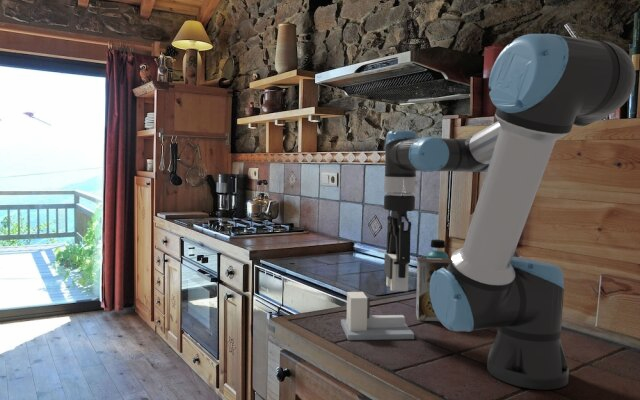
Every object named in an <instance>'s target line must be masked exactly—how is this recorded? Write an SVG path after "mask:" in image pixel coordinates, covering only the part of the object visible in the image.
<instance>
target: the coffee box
mask: <svg viewBox="0 0 640 400" xmlns="http://www.w3.org/2000/svg"><path fill="white" fill-rule="evenodd" d="M450 259H451V257H450V258H449V257H448V258H427V257H417V260H416V263H417V264H416V294H415V295H416V297H415V298H416V300H415V302H416V303H415V304H416V306H415V315H416V318H417V321H419V322H420V321H421V322H422V321H424V322H440V321H439V319H438V318H437V316H436V314H435V312H434V309H433V306H432V302H431V298H430V280H431V277H432V275H433V273H434V272H435V271H437V270H439V269H441V268H445V269H447V268H448V266H449V263H450Z"/></svg>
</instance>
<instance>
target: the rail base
mask: <svg viewBox="0 0 640 400" xmlns="http://www.w3.org/2000/svg"><path fill="white" fill-rule="evenodd" d="M370 300H371V299H370V295H368V294H367V292H366V291H347V292H346V318H345V319H340V325H341V327H342V329H343V332H344V334H345V337H346V338H347V341H368V340H370V341H373V340H375V341H376V340H377V341H378V340H414V339H415V333H414V331H412V329H411V328H410V327H409V326H408V325H407V323H406V316H405V315H403V314H388V315H387V314H383V315H382V314H381V315H380V314H378V315H376V314H375V315H373V314H372V315H371V314H370V306H371V305H370V303H371V301H370Z"/></svg>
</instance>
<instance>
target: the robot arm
mask: <svg viewBox="0 0 640 400" xmlns="http://www.w3.org/2000/svg"><path fill="white" fill-rule="evenodd" d="M636 74H637V73H636V67H635V65H634V63H633V60H632V58H631V56H630V55H629V54H628V53H627V51H625V50H624V49H623V48H621V47H620V46H618V45H617V44H615V43H612V42H609V41H604V40H597V39H596V40H593V39H586V38H580V37H572V36H565V35H559V34H556V33H554V34H553V33H528V34H524V35H521V36H518V37H517V38H514V40H513V41H512V42H511V43H509V44H507V45H506V46H505V47H504V48H503V49H502V50H501V52H500V53H499V55H498V56H497V57H496V59H495V61H494V63H493V66H492V68H491V71H490V74H489V77H488V78H489V80H488V89H491V90H490V91H489V98H490V100H491V102H492V103H491V104H493V105H494V106H495V107H496V108H495V114H494V117H495V119H496V120H497V121H496V122H494V123H492V124H490V125H489V126H487V127H486V128H484V129H482V130H480V131H478V132H476V133H475V134H473V135H471V136H469V137H468V138H444V137H443V138H441V137H435V136H422V137H418V135H417V134H418V133H417V132H416V131H414V130H398V129H397V130H390V131H388V132H387V133H386V139H385V144H384V145H385V146H384V148H385V149H384V150H385V153H384V155H385V156H384V185H383V192H385V193H386V194H385V195H384V197H383V209H384V210H386V211H390V212H391V214H390V215H387V217H386V219H387V231H386V232H387V235H386V236H387V237H386V251H385V253H386V254H396V259H397V261H396V262H394V264H395V286H394V290H395V291H394V292H407V291H406V278H407V264H408V263H409V264H410V263H411V229H412V225H413V224H412V221H410V220H409V218H408V212H412V211H414V210H415V209H416V196H415V195H413V194H415V193H416V185H418V181H417V180H416V176H417V172H422V173H423V172H424V173H426V172H428V173H433V172H463V173H464V172H465V173H466V172H467V173H481V172H483V173H484V172H486V174H485V177H484V179H483V183H482V186H481V189H480V193H479V196H478V199H477V203H476V206H475V208H474V212H473V215H472V217H471V218H472V219H471V221H470V225H469V228H468V230H467V234H466V237H465V240H464V243H463V246H462V247H460V248H458V249H456V250H455V251H453V252H452V254H451V256H450V263H449V266H448V268H447V269H445V268H441V269H439V270H437V271H435V272H434V273H433V275H432V277H431V280H430V298H431V302H432V306H433V309H434V312H435V314H436V316H437V318H438V319H439V321H438V322H440V323H441V324H442V326H443V327H445V328H446V329H448V331H451V332H469V333H470V332H472V331H481V330H487V329H497V333H496V335H495V337H494V339H493V343H492V345H491V347H490V350H489V353H488V355H487V361H486V362H487V363H486V366H487V367H486V368H487V371H488V372H489V374H490V375H491V376H492V377H494V378H495V379H498V380H499V381H501V382H503V383H506V384H509V385H513V386H515V387H519V388H525V389H531V390H533V389H534V390H539V391H541V390H545V391H547V390H549V391H550V390H557V389H561V388H564V387H565V386H567V385H568V383H569V376H570V375H569V373H570V370H569V366H568V362H567V359H566V355H565V352H564V349H563V345H562V341H561V338H562V337H561V334H562V321H563V305H564V294H565V292H564V291H565V285H564V272H563V270H562V268H561V267H560V266H558V265H557V264H554V263H550V262H546V261H541V260H537V259H536V260H535V259H531V258H525V257H519V256H514V255H515V252H516V249H517V246H518V243H519V242H520V238H521V236H522V233H523V231H524V228H525V225H526V222H527V219H528V217H529V214H530V211H531V209H532V206H533V204H534V201H535V198H536V195H537V193H538V189H539V186H540V185H541V182H542V179H543V176H544V173H545V171H546V168H547V166H548V162H549V160H550V157H551V156H552V152H553V149H554V146H555V144H556V142H557V141H558V140H560V139H562V138H563V137H566V136H567V135H568V136H569V135H570V133H571V130H572V129H573V126H574V127H586V126H588V125H590V124H592V123H595V122H598V121H600V120H603V119H604V118H606V117H608V116H610V115H611V114H613V113H615V112H616V111H618V110H619V109H620V108H621V107H622V106H624V105H625V103H626V102H627V101H628V100H629V99H630V96H631V95H632V93H633V91H634V88H635V84H636Z"/></svg>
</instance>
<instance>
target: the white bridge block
mask: <svg viewBox="0 0 640 400" xmlns="http://www.w3.org/2000/svg"><path fill="white" fill-rule="evenodd" d="M396 261H397V259H396V254H387V253H385V254H384V263H383V265H384V266H383V267H384V269H383V273H384V275H385V276H386V281H385V284H386V287H389V288H390V289H389V290H390V291H391V292H396V291H395V290H394V286H395V264H394V262H396ZM409 264H410V263H408V264H407V278H406V291H405V292H409V271H410V270H409V266H410V265H409Z"/></svg>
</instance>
